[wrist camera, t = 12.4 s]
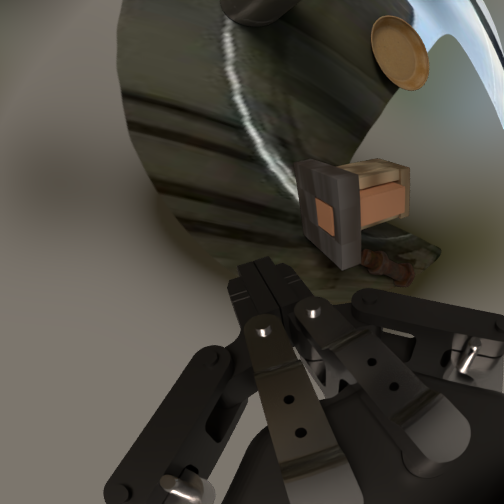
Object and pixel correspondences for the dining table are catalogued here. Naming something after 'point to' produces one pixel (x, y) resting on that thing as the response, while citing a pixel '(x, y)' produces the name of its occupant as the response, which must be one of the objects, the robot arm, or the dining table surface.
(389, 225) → the dining table surface
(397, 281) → the bolt
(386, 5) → the dining table surface
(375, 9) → the dining table surface
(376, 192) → the peg
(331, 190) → the frame
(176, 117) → the dining table surface
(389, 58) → the plant saucer
